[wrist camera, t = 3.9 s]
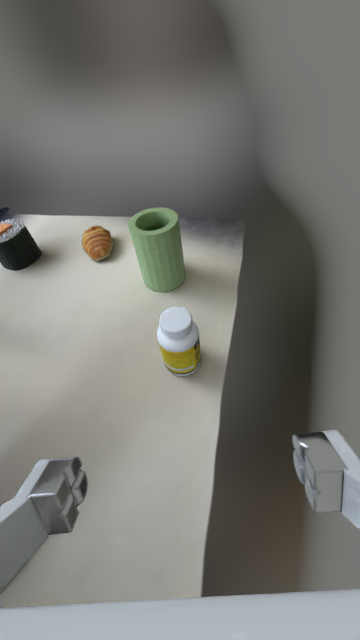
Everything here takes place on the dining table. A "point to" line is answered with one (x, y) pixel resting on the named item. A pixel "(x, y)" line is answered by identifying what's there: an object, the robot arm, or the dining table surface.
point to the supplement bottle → (179, 341)
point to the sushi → (17, 245)
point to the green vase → (158, 248)
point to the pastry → (97, 243)
